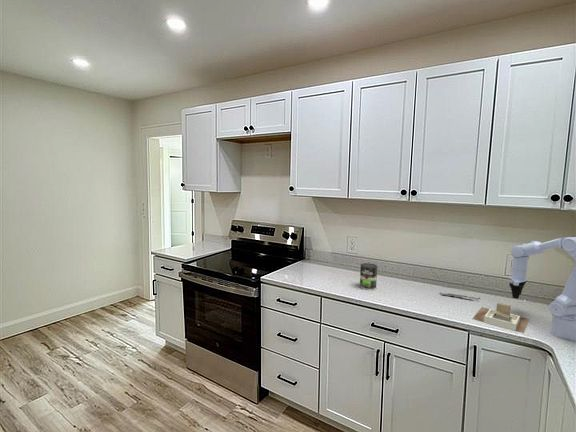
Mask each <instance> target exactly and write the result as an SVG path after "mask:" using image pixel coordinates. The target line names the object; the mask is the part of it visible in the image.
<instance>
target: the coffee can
mask: <svg viewBox="0 0 576 432" xmlns="http://www.w3.org/2000/svg"><path fill="white" fill-rule="evenodd" d="M359 269H360V272H359V274H360V275H359V276H360V277H359V288H361V289H362V290H365V291H366V290H368V291H373V290H374V291H375V290H376V289H377V282H378V281H377V280H378V265H377V264H374V263H370V262H368V263H367V262H365V263H364V262H363V263H360V268H359Z"/></svg>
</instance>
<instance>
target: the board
mask: <svg viewBox="0 0 576 432" xmlns="http://www.w3.org/2000/svg"><path fill="white" fill-rule="evenodd" d="M489 309H490V308H489V307H488V308H487V307H483V306H482V307H480V309H479V310H478V311H477V312H476V313H475V314H474V316H473V317H472V318H471V320H474V321H477V322H481V323H485V322H484V318H485V315H486V314H487V312H488V311H489ZM529 321H530V318H527V317H524V316H520V322H519V324H518V327H517V329H516V331H515V332H518V333H522V334H525V332H526V329H527V327H528V324H529ZM487 324H488V325H490V324H489V323H487ZM498 327H500V326H498ZM500 328H501V327H500ZM509 330H510V331H512V330H511V329H509Z"/></svg>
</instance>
